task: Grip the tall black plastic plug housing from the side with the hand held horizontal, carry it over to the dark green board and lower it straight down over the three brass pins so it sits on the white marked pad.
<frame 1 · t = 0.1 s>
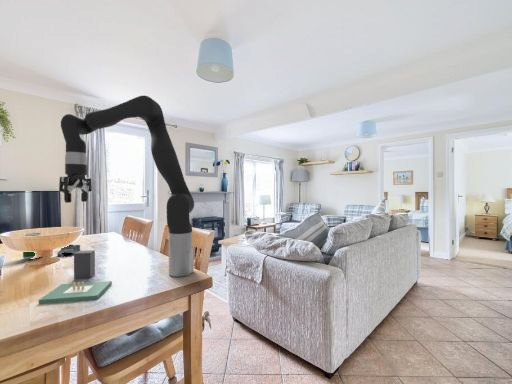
hand: (76, 202, 102), 29 cm above the table, tool pointing down, fingers open, 8 cm apart
plug housing: (84, 276, 95), on the table
pin board: (78, 293, 81), on the table
soda can: (33, 258, 119), on the table
electronic device: (69, 254, 129), on the table
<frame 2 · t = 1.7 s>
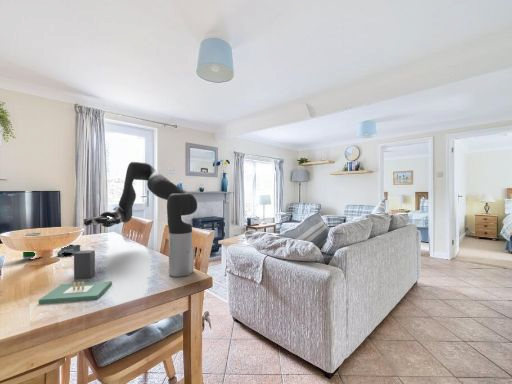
hand: (96, 223, 106), 20 cm above the table, tool horizontal, fingers open, 8 cm apart
nothing on the table moved.
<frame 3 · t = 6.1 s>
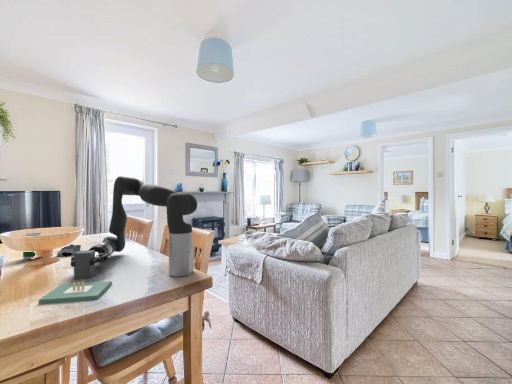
hand: (81, 263, 92), 6 cm above the table, tool horizontal, fingers closed on plug housing, 5 cm apart
plug housing: (84, 276, 95), on the table, touching gripper
everything else where it was.
when the fingers open (8 cm above the table, at t = 12.0 s): plug housing drops 1 cm, resting on pin board.
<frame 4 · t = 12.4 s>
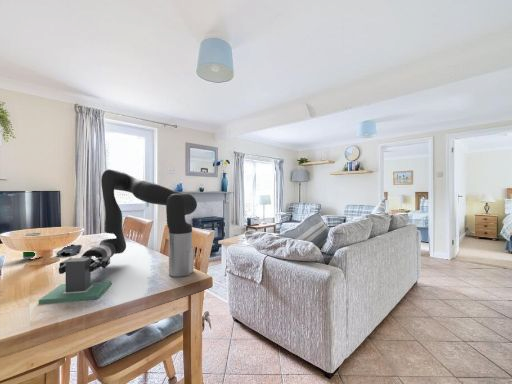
hand: (75, 270, 79), 8 cm above the table, tool horizontal, fingers open, 8 cm apart
plug housing: (78, 289, 80), point 1 cm above the table, touching pin board
everything else where it was.
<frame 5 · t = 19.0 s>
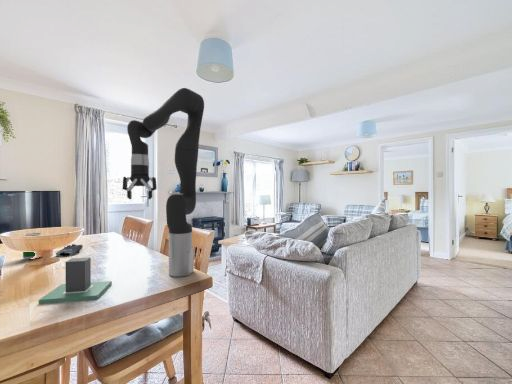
hand: (139, 199, 113), 30 cm above the table, tool pointing down, fingers open, 8 cm apart
nothing on the table moved.
at the end: plug housing 0.0 cm off-centre on the pin board, point 1.3 cm above the pin board's base; plug housing tilted 0°; the gripper is holding nothing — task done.
